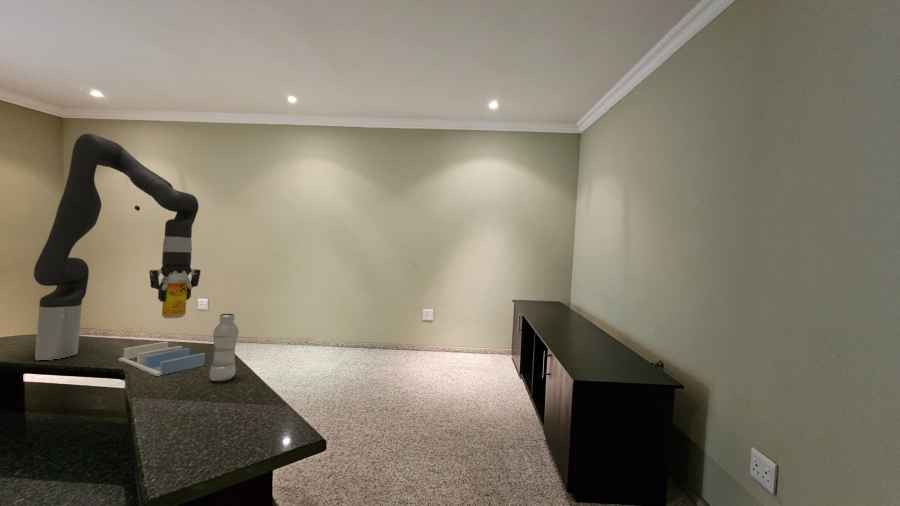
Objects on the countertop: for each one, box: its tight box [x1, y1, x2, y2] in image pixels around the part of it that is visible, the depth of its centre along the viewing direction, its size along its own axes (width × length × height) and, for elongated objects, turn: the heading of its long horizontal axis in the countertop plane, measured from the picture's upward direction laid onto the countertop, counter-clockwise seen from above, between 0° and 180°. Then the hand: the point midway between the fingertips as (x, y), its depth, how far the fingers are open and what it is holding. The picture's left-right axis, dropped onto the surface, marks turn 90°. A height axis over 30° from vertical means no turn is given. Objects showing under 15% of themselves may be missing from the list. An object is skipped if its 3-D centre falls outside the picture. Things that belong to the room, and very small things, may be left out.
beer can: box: [161, 273, 187, 319], centre depth 111 cm, size 6×6×15 cm
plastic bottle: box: [208, 312, 240, 382], centre depth 101 cm, size 6×7×20 cm
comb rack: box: [118, 340, 206, 377], centre depth 111 cm, size 24×13×4 cm, turn 65°
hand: (174, 300), depth 111 cm, fingers closed on beer can, 6 cm apart
